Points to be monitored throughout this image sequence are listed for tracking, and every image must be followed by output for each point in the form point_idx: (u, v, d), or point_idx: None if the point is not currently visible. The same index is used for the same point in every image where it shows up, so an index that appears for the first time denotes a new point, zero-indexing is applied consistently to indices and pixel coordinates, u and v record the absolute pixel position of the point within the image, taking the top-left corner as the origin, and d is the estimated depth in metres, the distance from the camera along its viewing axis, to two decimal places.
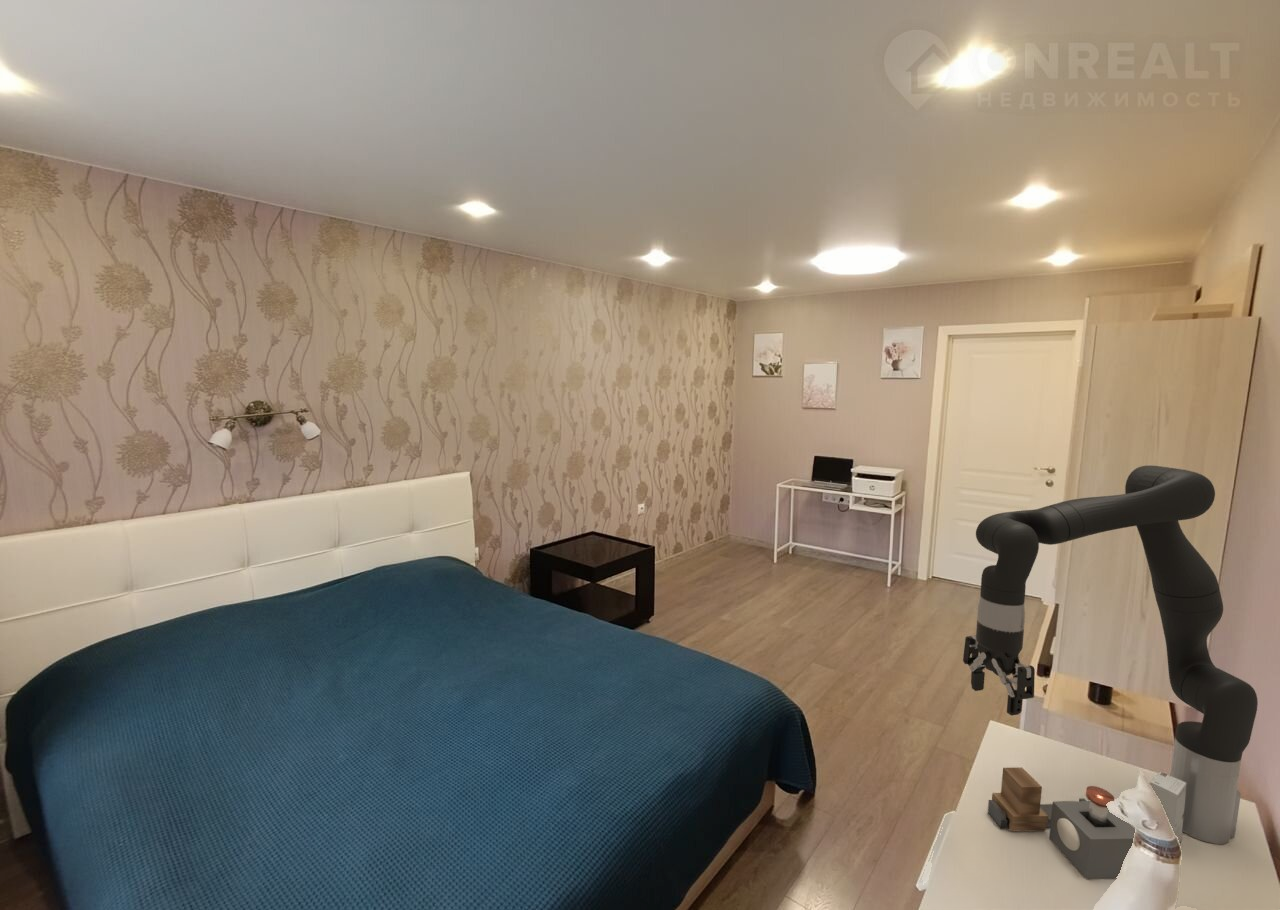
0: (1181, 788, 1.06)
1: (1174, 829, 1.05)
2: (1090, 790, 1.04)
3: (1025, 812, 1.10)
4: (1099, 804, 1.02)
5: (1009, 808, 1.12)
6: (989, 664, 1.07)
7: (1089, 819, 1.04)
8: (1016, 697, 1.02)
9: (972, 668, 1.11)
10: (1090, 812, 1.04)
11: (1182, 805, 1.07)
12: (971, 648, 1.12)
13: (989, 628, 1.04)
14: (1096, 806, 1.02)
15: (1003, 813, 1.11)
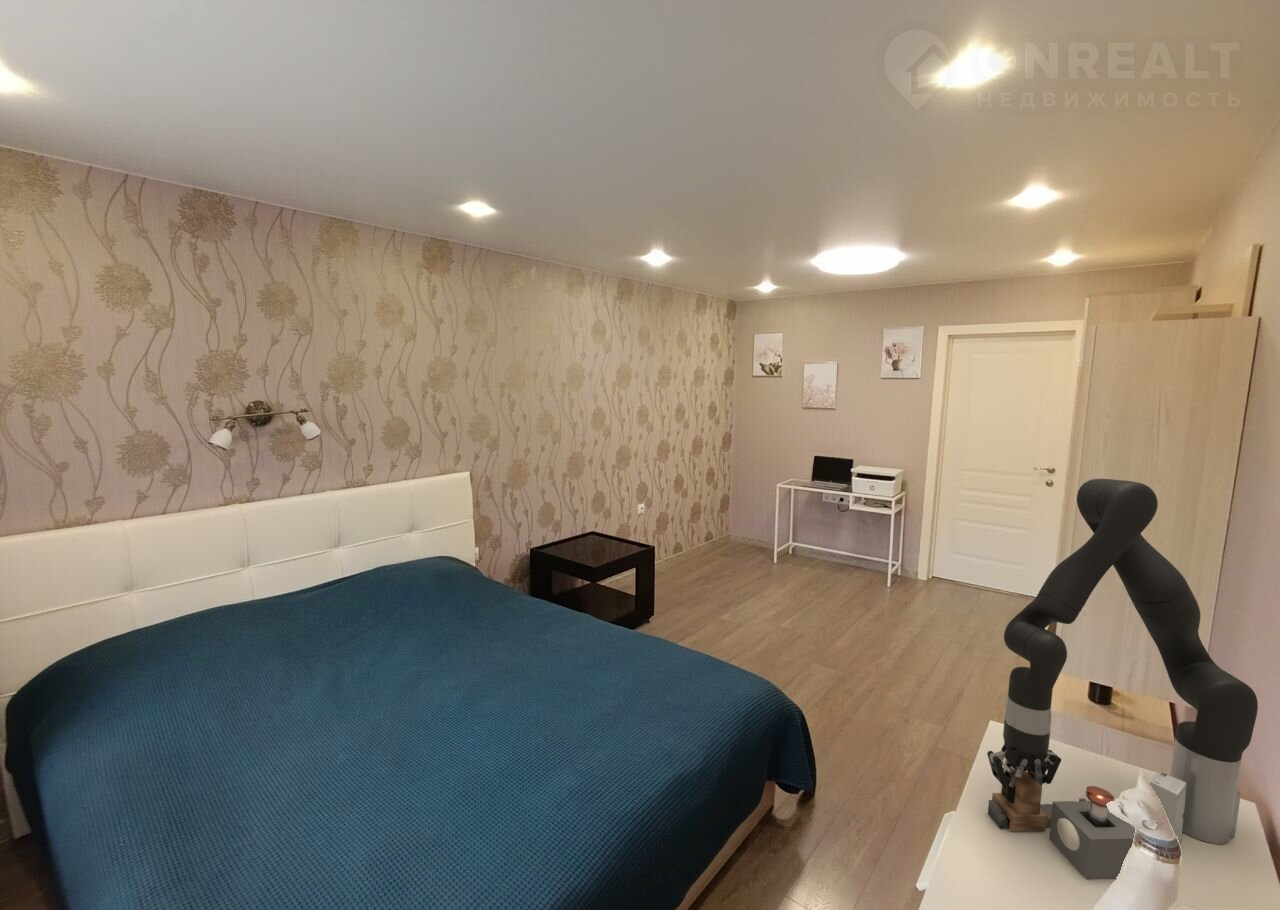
0: (1181, 788, 1.06)
1: (1174, 829, 1.05)
2: (1090, 790, 1.04)
3: (1025, 812, 1.10)
4: (1099, 804, 1.02)
5: (1009, 808, 1.12)
6: None
7: (1089, 819, 1.04)
8: None
9: (1013, 784, 1.11)
10: (1090, 812, 1.04)
11: (1182, 805, 1.07)
12: None
13: (1046, 734, 1.07)
14: (1096, 806, 1.02)
15: (1003, 813, 1.11)
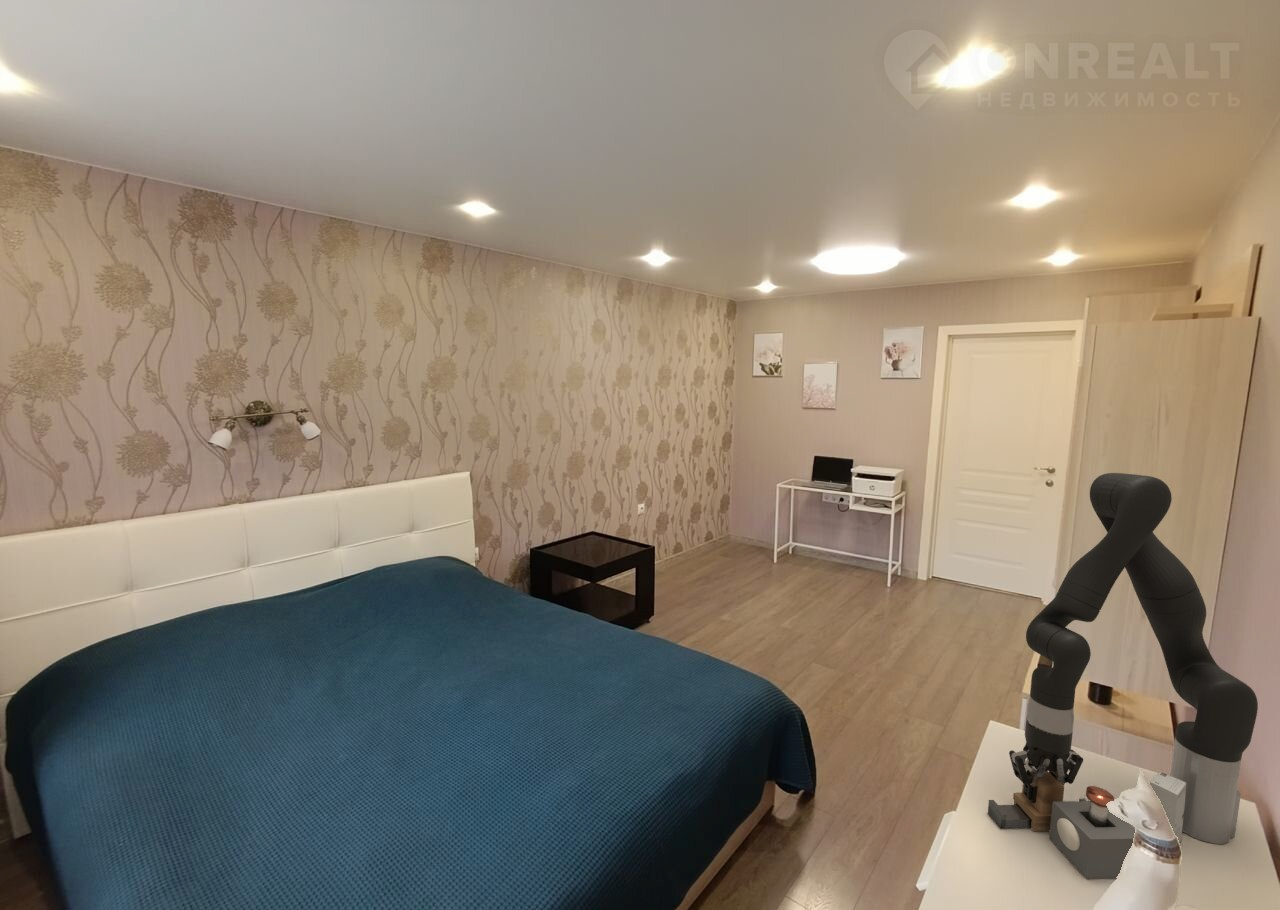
0: (1181, 788, 1.06)
1: (1174, 829, 1.05)
2: (1090, 790, 1.04)
3: (1047, 811, 1.10)
4: (1099, 804, 1.02)
5: (1031, 807, 1.12)
6: None
7: (1089, 819, 1.04)
8: None
9: (1035, 783, 1.11)
10: (1090, 812, 1.04)
11: (1182, 805, 1.07)
12: None
13: (1069, 734, 1.07)
14: (1096, 806, 1.02)
15: (1003, 813, 1.11)
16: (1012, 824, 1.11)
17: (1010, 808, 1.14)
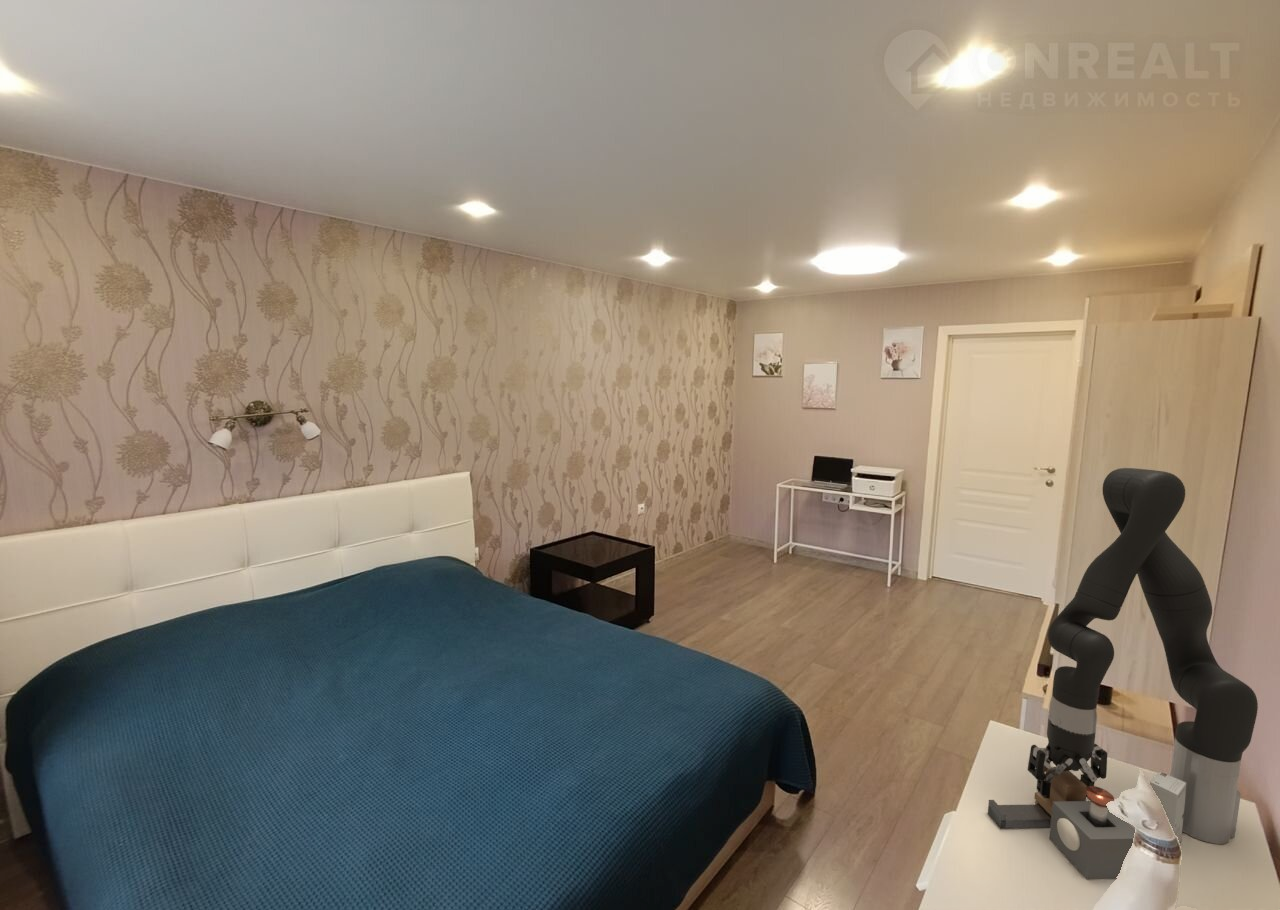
0: (1181, 788, 1.06)
1: (1174, 829, 1.05)
2: (1090, 790, 1.04)
3: None
4: (1099, 804, 1.02)
5: None
6: None
7: (1089, 819, 1.04)
8: None
9: (1049, 779, 1.11)
10: (1090, 812, 1.04)
11: (1182, 805, 1.07)
12: None
13: (1092, 734, 1.07)
14: (1096, 806, 1.02)
15: (1003, 813, 1.11)
16: (1012, 824, 1.11)
17: (1010, 808, 1.14)
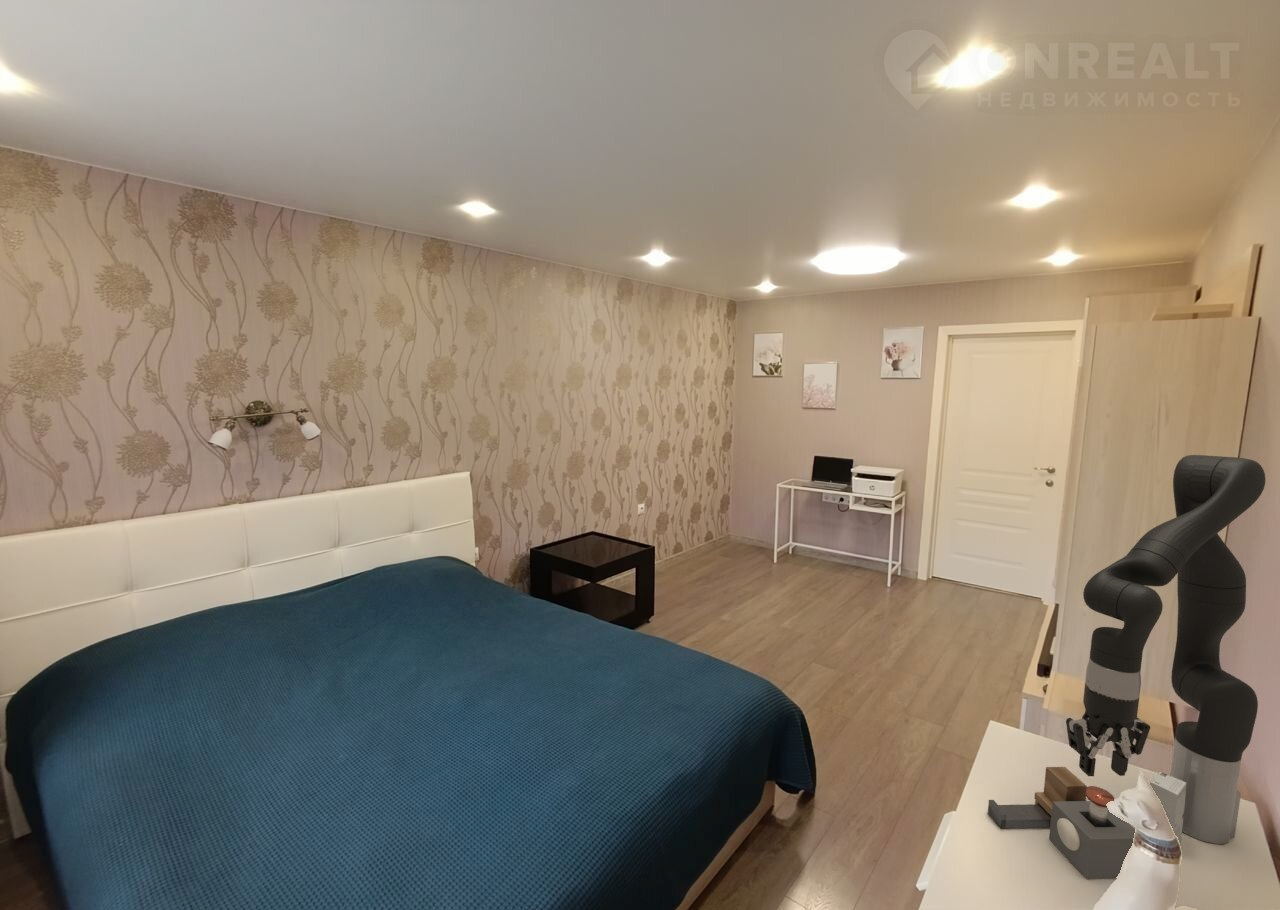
0: (1181, 788, 1.06)
1: (1174, 829, 1.05)
2: (1090, 790, 1.04)
3: None
4: (1099, 804, 1.02)
5: None
6: None
7: (1089, 819, 1.04)
8: None
9: (1093, 755, 1.01)
10: (1090, 812, 1.04)
11: (1182, 805, 1.07)
12: None
13: (1136, 700, 0.97)
14: (1096, 806, 1.02)
15: (1003, 813, 1.11)
16: (1012, 824, 1.11)
17: (1010, 808, 1.14)
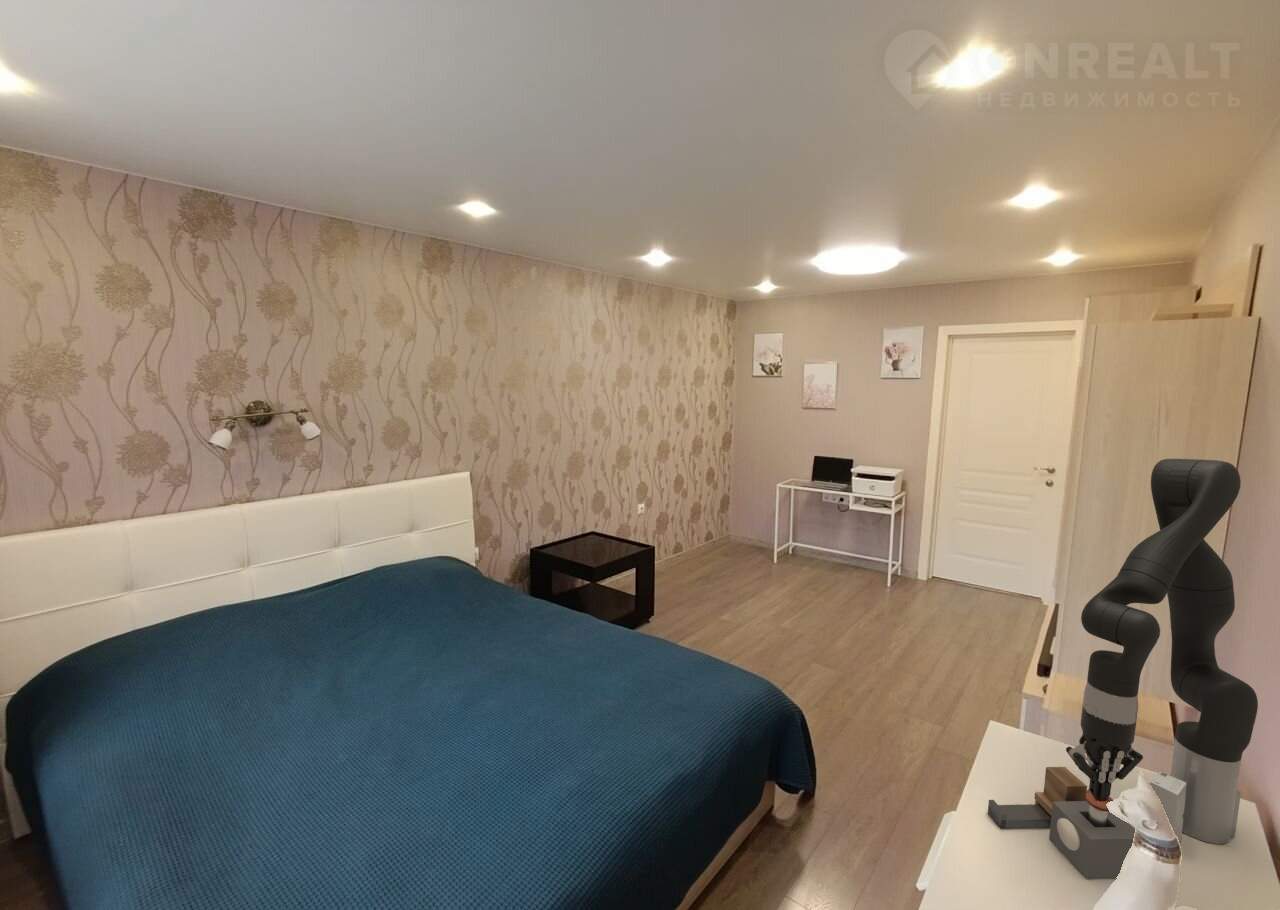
0: (1181, 788, 1.06)
1: (1174, 829, 1.05)
2: (1090, 794, 1.04)
3: None
4: (1099, 808, 1.02)
5: None
6: None
7: None
8: None
9: (1103, 779, 1.01)
10: (1090, 816, 1.04)
11: (1182, 805, 1.07)
12: None
13: (1133, 724, 0.98)
14: (1096, 810, 1.03)
15: (1003, 813, 1.11)
16: (1012, 824, 1.11)
17: (1010, 808, 1.14)
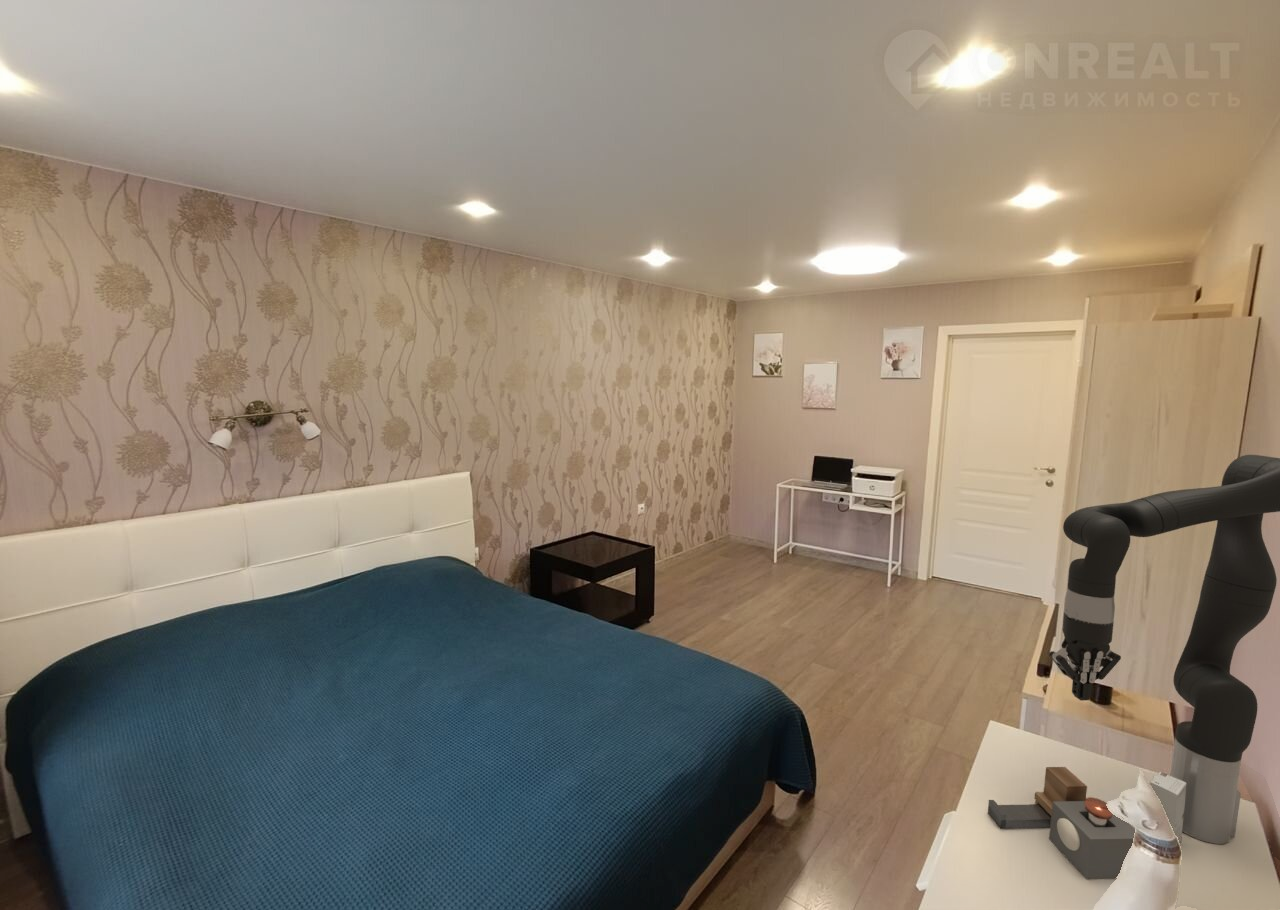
0: (1181, 788, 1.06)
1: (1174, 829, 1.05)
2: (1089, 802, 1.04)
3: None
4: (1098, 816, 1.02)
5: None
6: None
7: None
8: None
9: (1084, 679, 1.07)
10: None
11: (1182, 805, 1.07)
12: None
13: (1110, 623, 1.04)
14: (1095, 818, 1.03)
15: (1003, 813, 1.11)
16: (1012, 824, 1.11)
17: (1010, 808, 1.14)
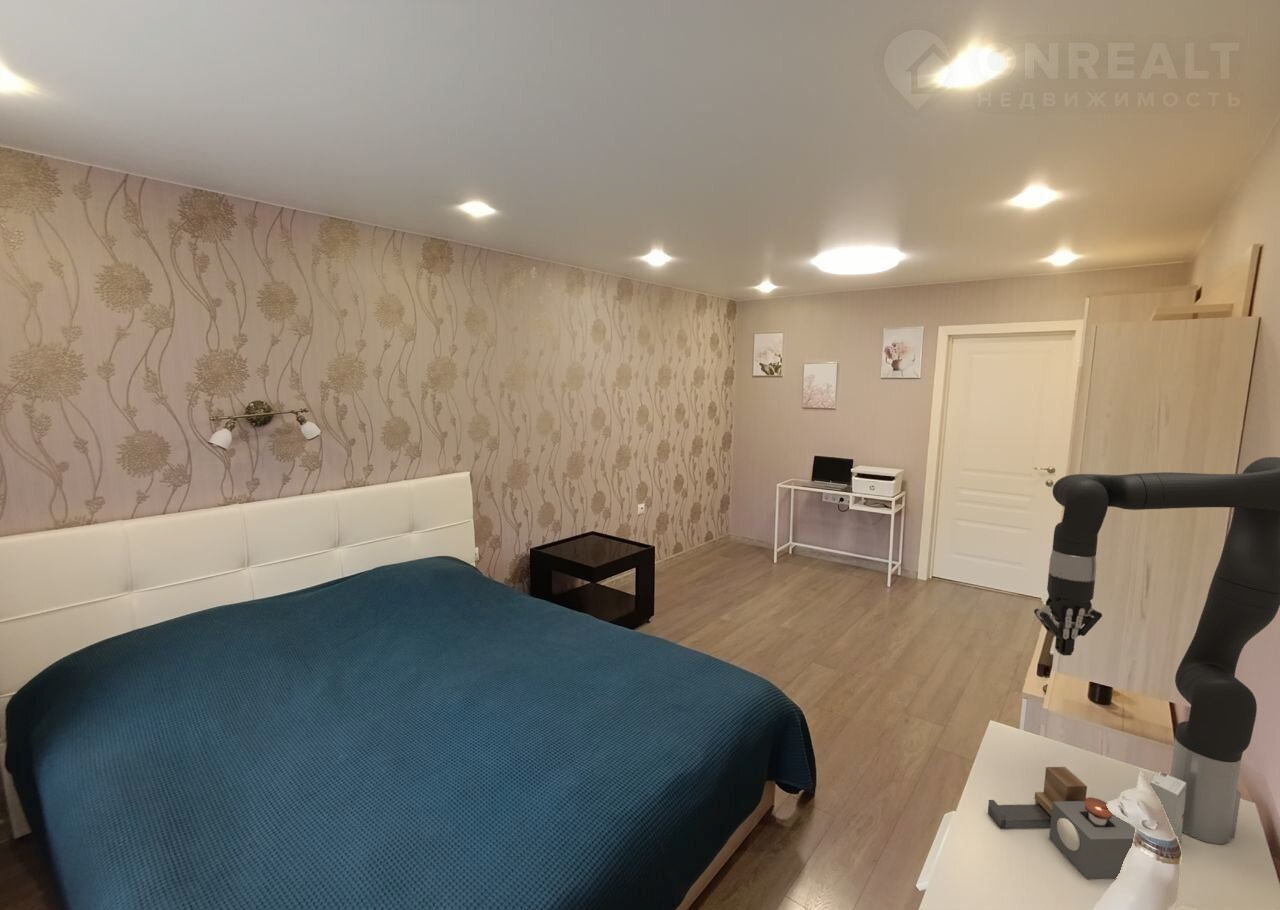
0: (1181, 788, 1.06)
1: (1174, 829, 1.05)
2: (1089, 802, 1.04)
3: None
4: (1098, 816, 1.02)
5: None
6: None
7: None
8: None
9: (1067, 635, 1.13)
10: None
11: (1182, 805, 1.07)
12: None
13: (1091, 581, 1.10)
14: (1095, 818, 1.03)
15: (1003, 813, 1.11)
16: (1012, 824, 1.11)
17: (1010, 808, 1.14)
